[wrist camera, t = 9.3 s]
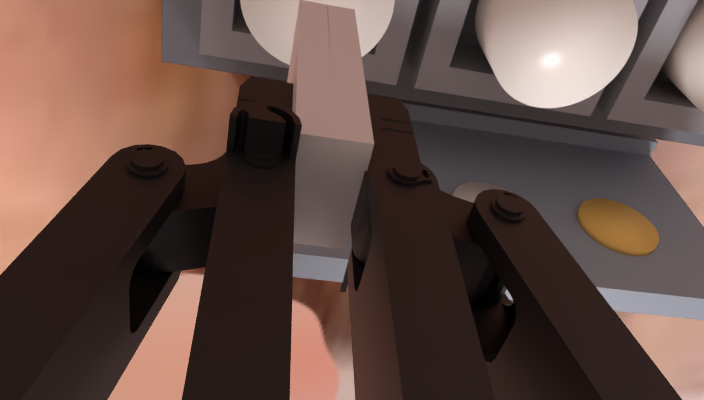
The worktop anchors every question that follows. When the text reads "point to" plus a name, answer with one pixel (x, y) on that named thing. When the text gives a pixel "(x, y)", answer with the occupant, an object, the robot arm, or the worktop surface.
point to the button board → (458, 64)
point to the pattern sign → (564, 202)
